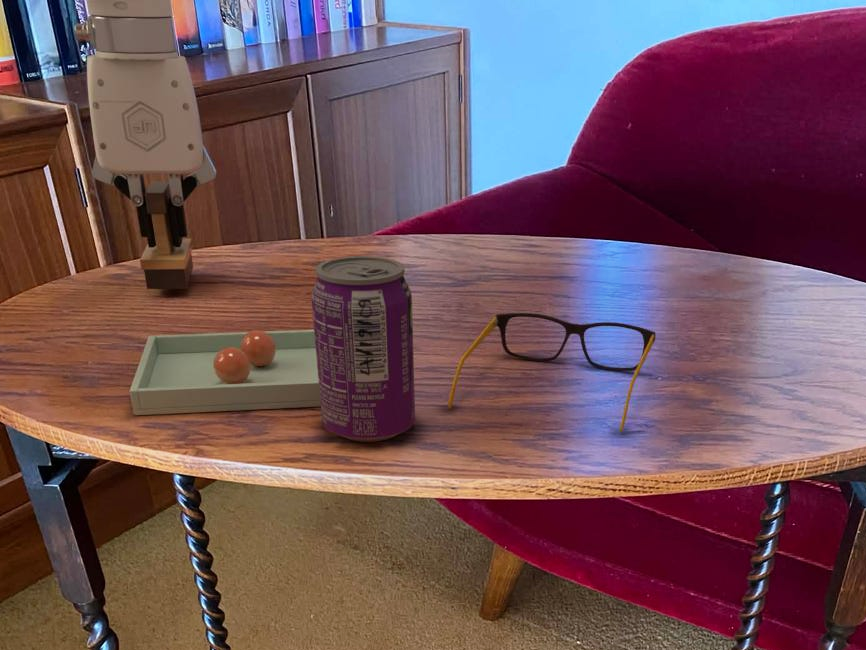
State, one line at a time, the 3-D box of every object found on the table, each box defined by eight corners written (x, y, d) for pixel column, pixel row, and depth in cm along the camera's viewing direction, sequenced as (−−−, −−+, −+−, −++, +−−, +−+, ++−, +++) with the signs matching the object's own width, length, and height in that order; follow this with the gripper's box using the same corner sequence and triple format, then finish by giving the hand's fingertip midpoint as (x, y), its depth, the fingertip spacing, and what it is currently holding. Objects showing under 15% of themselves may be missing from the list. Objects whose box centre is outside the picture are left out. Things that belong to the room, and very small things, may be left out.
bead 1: (215, 391, 78) (209, 355, 77) (217, 377, 81) (212, 342, 79) (252, 389, 79) (247, 353, 77) (253, 376, 81) (249, 341, 79)
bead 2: (242, 372, 82) (237, 337, 80) (243, 360, 84) (238, 326, 82) (277, 371, 82) (273, 336, 81) (278, 358, 85) (274, 324, 83)
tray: (134, 415, 75) (129, 391, 74) (153, 357, 86) (148, 335, 85) (366, 404, 78) (365, 380, 77) (357, 349, 88) (355, 327, 87)
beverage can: (433, 423, 75) (430, 263, 68) (380, 456, 70) (371, 287, 63) (359, 404, 78) (349, 249, 71) (303, 434, 73) (287, 271, 66)
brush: (144, 289, 99) (129, 195, 94) (154, 267, 107) (140, 178, 101) (188, 289, 100) (175, 195, 95) (195, 266, 107) (183, 178, 102)
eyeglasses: (652, 371, 85) (658, 326, 83) (622, 435, 74) (627, 384, 71) (498, 352, 88) (499, 308, 86) (446, 410, 77) (446, 361, 75)
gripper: (38, 40, 87) (81, 254, 97) (218, 44, 89) (241, 252, 100) (54, 34, 93) (93, 236, 103) (222, 38, 95) (243, 235, 106)
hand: (165, 243), depth 101 cm, fingers closed on brush, 2 cm apart
